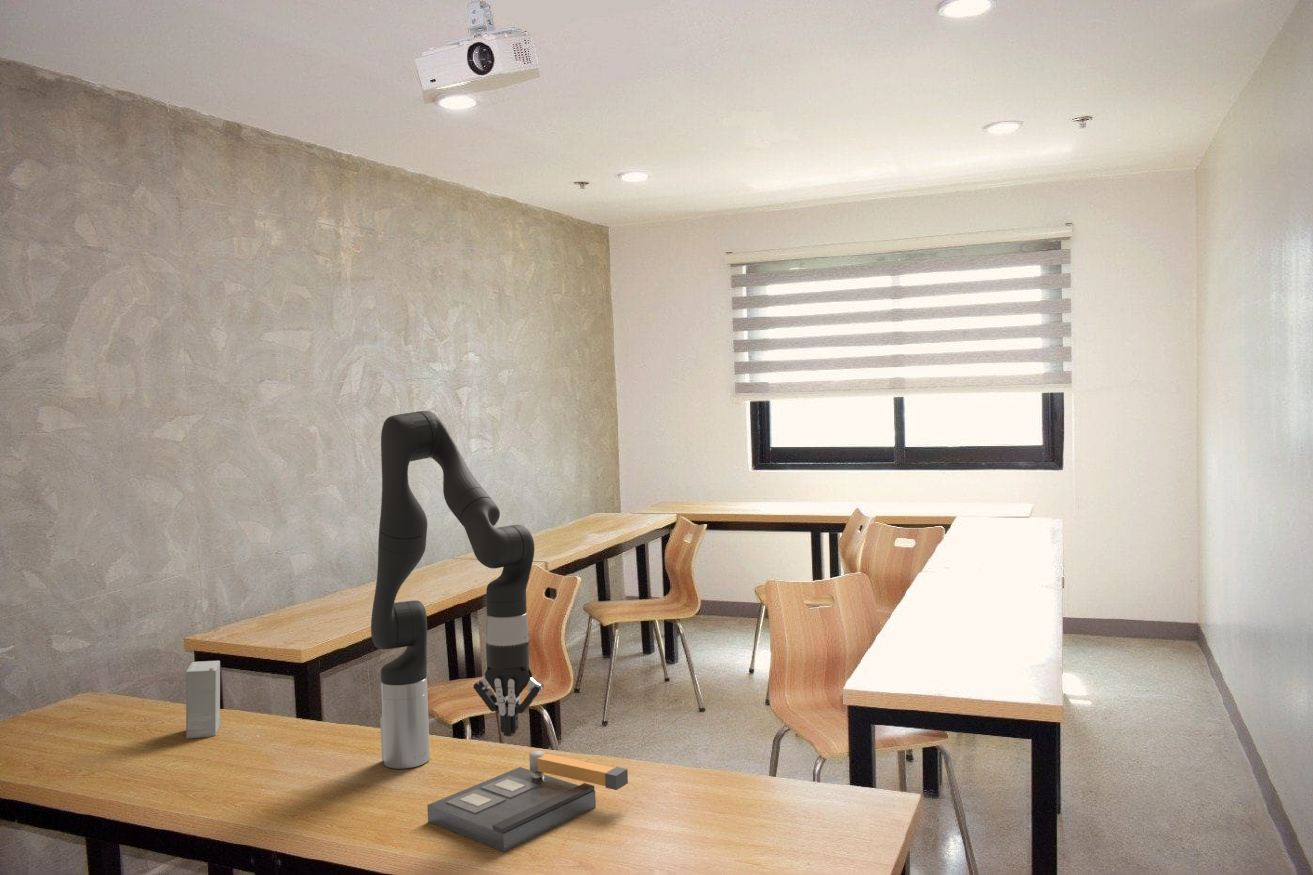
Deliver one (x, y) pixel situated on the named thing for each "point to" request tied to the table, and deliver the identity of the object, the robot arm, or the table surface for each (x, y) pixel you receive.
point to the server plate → (511, 808)
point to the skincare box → (202, 699)
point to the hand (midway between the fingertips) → (509, 734)
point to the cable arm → (578, 770)
